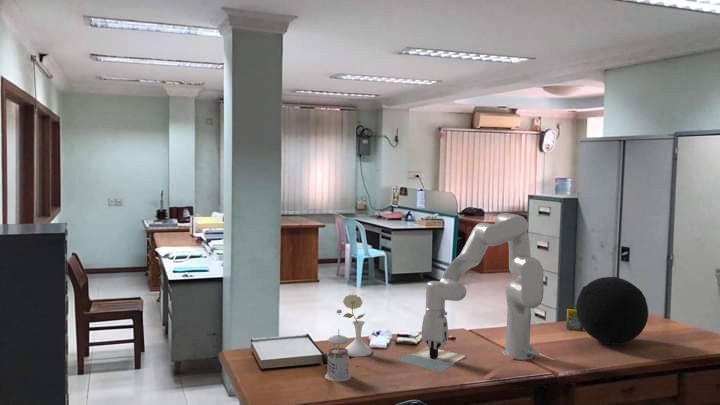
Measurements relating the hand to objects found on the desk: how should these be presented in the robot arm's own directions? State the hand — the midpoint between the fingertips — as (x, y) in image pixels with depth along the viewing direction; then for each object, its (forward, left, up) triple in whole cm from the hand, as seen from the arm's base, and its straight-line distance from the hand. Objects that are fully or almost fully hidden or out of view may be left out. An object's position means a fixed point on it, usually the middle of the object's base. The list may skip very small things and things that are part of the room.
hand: (433, 357), depth 230 cm
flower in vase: (+28, +15, -2) cm, 32 cm away
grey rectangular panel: (0, +6, -2) cm, 7 cm away
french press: (+18, +38, -2) cm, 42 cm away
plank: (0, -4, -1) cm, 5 cm away
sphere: (-46, -75, -2) cm, 88 cm away
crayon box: (-26, -87, -2) cm, 91 cm away
